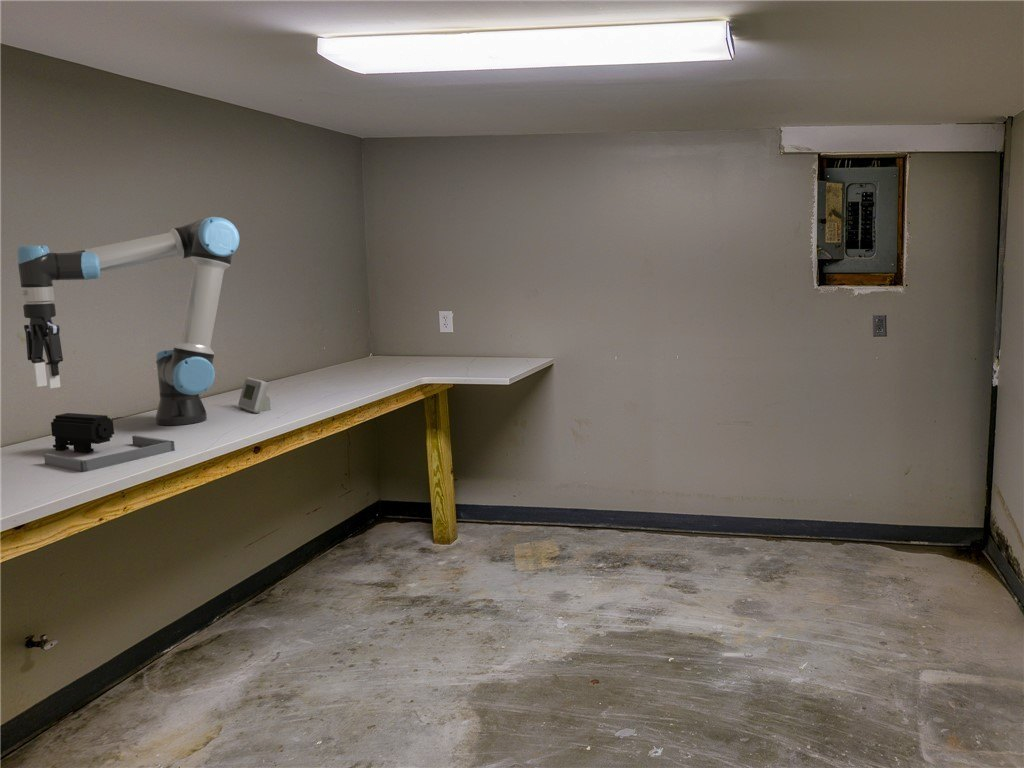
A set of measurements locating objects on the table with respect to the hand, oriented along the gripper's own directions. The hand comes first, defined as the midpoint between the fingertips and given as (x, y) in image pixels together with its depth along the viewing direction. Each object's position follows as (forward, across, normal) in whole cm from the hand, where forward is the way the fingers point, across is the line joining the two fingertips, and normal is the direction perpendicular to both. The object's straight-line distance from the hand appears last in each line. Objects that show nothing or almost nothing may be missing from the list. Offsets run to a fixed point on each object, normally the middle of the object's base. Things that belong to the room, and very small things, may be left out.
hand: (48, 386), depth 223 cm
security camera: (+17, +14, 0) cm, 22 cm away
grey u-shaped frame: (+17, +27, 0) cm, 32 cm away
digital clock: (+17, +7, +64) cm, 67 cm away
